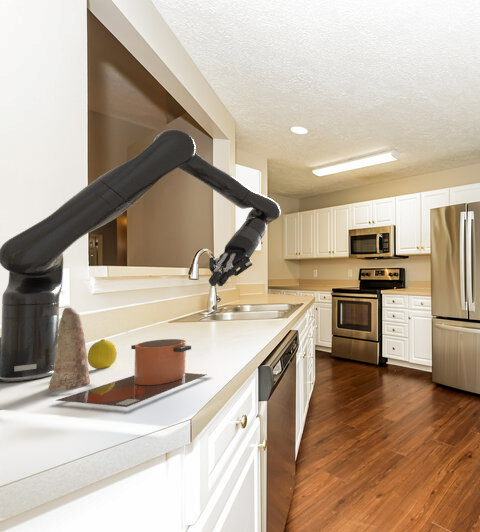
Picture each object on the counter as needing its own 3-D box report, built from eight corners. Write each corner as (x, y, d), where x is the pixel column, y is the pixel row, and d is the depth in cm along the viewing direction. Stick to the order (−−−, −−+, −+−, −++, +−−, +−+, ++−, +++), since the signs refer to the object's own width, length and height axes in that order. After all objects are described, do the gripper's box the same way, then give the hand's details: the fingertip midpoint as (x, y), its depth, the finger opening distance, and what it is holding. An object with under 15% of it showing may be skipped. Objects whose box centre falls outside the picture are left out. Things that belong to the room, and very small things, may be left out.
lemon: (99, 375, 82) (100, 341, 82) (81, 373, 83) (82, 340, 84) (122, 368, 88) (122, 337, 88) (104, 367, 89) (105, 336, 89)
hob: (53, 405, 63) (54, 399, 64) (149, 374, 83) (150, 369, 83) (126, 412, 61) (126, 406, 61) (207, 378, 80) (208, 374, 80)
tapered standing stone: (41, 399, 69) (72, 399, 69) (33, 312, 66) (65, 313, 67) (69, 384, 75) (98, 384, 75) (63, 304, 72) (93, 305, 73)
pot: (115, 383, 73) (116, 345, 74) (154, 370, 83) (154, 337, 83) (168, 387, 71) (168, 348, 71) (201, 374, 80) (202, 340, 81)
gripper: (218, 234, 105) (185, 274, 92) (258, 234, 102) (231, 275, 90) (229, 252, 110) (200, 292, 98) (268, 252, 108) (243, 293, 95)
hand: (215, 284), depth 94 cm, fingers closed
